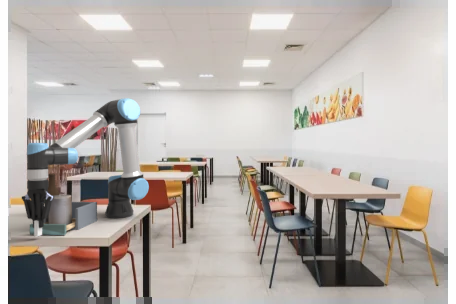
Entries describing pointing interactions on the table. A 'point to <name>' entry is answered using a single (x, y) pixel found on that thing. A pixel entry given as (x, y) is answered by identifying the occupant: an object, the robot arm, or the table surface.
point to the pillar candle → (61, 210)
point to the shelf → (55, 228)
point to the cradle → (82, 214)
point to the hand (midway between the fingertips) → (38, 235)
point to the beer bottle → (52, 185)
